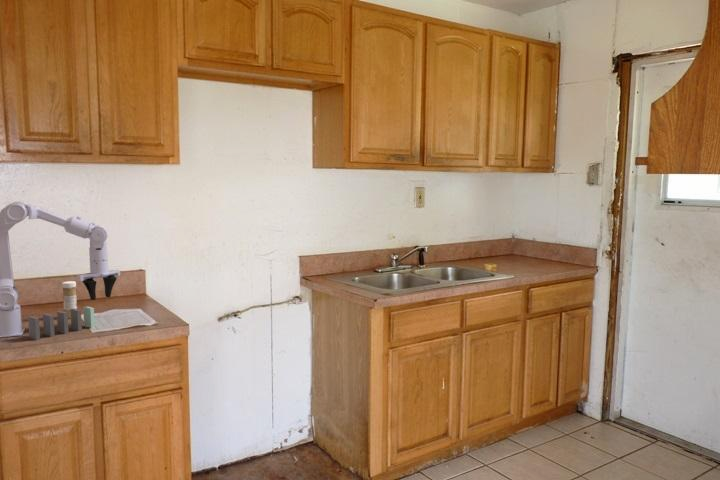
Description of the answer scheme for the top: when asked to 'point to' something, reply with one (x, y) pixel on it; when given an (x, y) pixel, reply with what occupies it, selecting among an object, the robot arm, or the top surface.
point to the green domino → (89, 317)
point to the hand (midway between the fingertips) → (100, 298)
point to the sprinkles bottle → (69, 296)
